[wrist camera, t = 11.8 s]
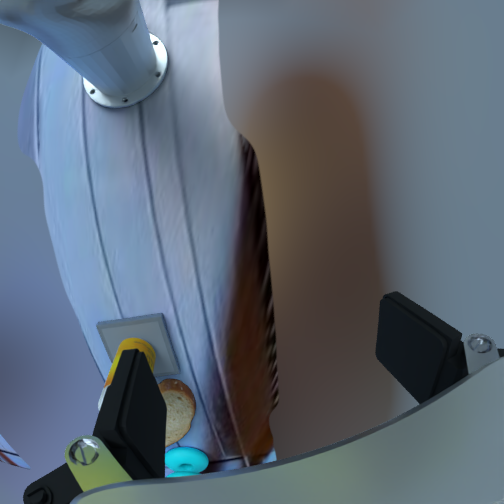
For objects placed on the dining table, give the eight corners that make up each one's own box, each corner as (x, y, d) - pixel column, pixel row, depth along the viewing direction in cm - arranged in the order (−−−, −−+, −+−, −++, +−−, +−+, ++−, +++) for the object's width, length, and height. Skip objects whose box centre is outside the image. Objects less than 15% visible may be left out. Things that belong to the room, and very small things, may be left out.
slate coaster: (98, 322, 39) (96, 325, 38) (162, 312, 40) (161, 316, 39) (121, 375, 42) (119, 380, 41) (180, 369, 43) (179, 373, 42)
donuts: (222, 489, 42) (191, 502, 42) (217, 455, 51) (188, 470, 52) (184, 476, 39) (154, 488, 39) (183, 439, 48) (155, 454, 49)
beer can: (157, 367, 41) (148, 436, 27) (122, 364, 40) (102, 430, 26) (155, 336, 40) (141, 404, 26) (117, 333, 39) (90, 398, 24)
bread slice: (185, 374, 44) (185, 388, 41) (212, 434, 49) (214, 447, 46) (96, 386, 42) (91, 398, 39) (135, 443, 47) (133, 455, 44)
